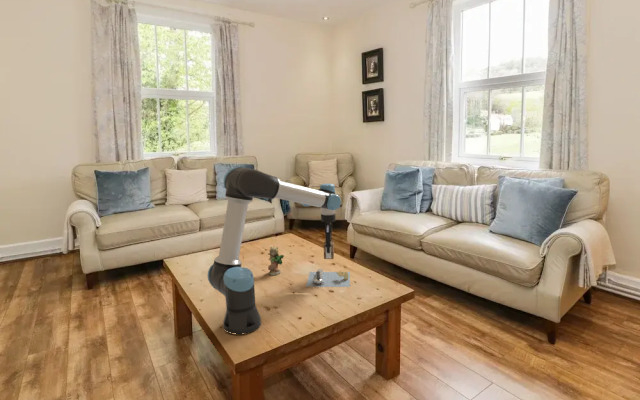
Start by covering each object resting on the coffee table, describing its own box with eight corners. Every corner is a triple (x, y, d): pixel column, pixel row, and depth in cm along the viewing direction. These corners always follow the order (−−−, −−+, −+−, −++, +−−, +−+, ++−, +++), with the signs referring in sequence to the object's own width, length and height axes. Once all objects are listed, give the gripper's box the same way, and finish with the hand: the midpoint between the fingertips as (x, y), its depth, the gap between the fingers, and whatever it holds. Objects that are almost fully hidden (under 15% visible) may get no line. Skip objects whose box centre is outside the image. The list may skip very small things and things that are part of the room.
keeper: (349, 282, 191) (349, 273, 190) (339, 283, 190) (339, 275, 189) (346, 278, 196) (345, 270, 195) (336, 280, 194) (336, 271, 193)
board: (349, 288, 184) (349, 275, 182) (305, 288, 186) (305, 274, 184) (349, 273, 202) (349, 261, 201) (310, 273, 204) (309, 261, 203)
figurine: (265, 274, 205) (263, 248, 202) (273, 269, 211) (271, 244, 208) (279, 277, 200) (277, 250, 198) (286, 272, 207) (285, 246, 204)
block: (333, 259, 193) (333, 244, 191) (323, 259, 193) (323, 244, 192) (333, 255, 198) (333, 241, 196) (324, 255, 198) (324, 241, 197)
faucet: (322, 284, 186) (322, 280, 186) (313, 284, 187) (313, 280, 186) (324, 272, 201) (324, 269, 201) (316, 272, 202) (316, 269, 201)
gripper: (334, 217, 182) (335, 262, 186) (336, 209, 200) (336, 251, 204) (319, 217, 183) (320, 262, 187) (322, 209, 200) (323, 250, 205)
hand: (328, 256), depth 195 cm, fingers closed on block, 5 cm apart
